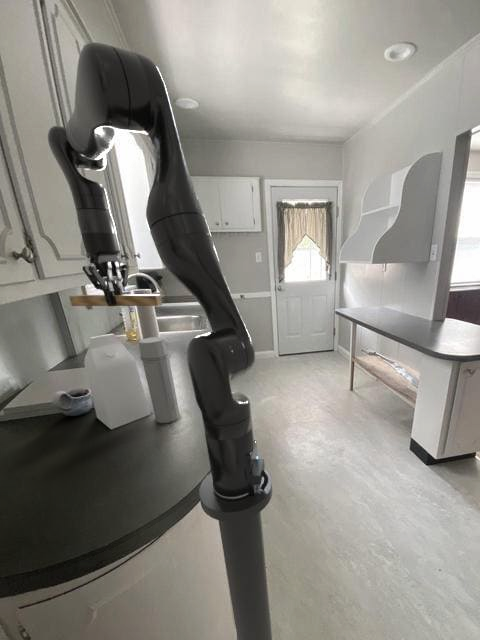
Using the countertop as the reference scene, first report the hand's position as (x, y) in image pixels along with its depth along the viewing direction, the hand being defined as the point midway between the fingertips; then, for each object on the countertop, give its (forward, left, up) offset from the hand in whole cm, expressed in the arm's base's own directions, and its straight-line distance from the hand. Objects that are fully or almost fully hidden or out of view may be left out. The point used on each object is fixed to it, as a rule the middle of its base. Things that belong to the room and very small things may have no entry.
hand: (116, 305), depth 80 cm
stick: (0, 0, 0) cm, 0 cm away
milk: (+8, -2, -35) cm, 36 cm away
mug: (+24, -2, -35) cm, 43 cm away
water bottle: (-8, 0, -35) cm, 36 cm away
